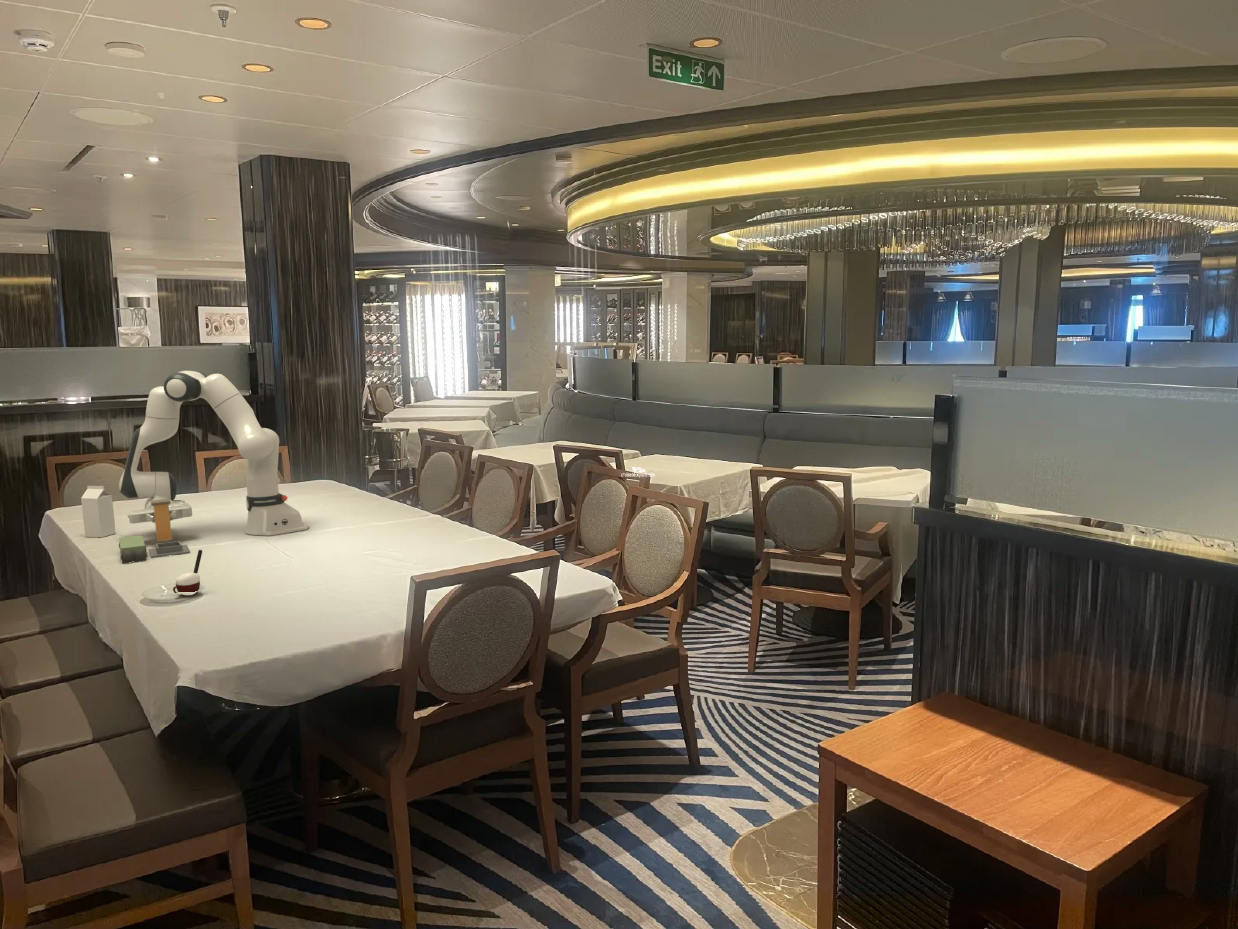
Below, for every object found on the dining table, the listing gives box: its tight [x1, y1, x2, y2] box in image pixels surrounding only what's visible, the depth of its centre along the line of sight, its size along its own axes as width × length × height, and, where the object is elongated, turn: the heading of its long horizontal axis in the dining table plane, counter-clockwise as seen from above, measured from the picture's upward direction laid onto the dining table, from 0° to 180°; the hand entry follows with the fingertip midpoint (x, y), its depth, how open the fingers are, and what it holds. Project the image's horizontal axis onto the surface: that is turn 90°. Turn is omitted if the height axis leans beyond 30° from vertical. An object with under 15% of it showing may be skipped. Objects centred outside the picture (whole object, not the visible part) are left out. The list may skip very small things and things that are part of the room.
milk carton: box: [80, 485, 117, 538], centre depth 323 cm, size 7×7×19 cm
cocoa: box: [172, 549, 203, 594], centre depth 249 cm, size 10×6×12 cm, turn 128°
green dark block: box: [118, 534, 148, 564], centre depth 294 cm, size 8×20×5 cm, turn 32°
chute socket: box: [148, 540, 191, 559], centre depth 299 cm, size 12×12×3 cm
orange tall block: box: [151, 499, 173, 542], centre depth 306 cm, size 6×6×14 cm
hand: (162, 517), depth 305 cm, fingers closed on orange tall block, 4 cm apart
